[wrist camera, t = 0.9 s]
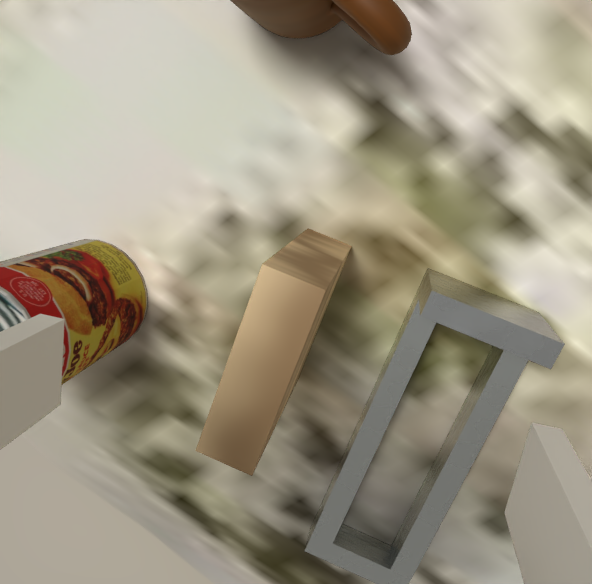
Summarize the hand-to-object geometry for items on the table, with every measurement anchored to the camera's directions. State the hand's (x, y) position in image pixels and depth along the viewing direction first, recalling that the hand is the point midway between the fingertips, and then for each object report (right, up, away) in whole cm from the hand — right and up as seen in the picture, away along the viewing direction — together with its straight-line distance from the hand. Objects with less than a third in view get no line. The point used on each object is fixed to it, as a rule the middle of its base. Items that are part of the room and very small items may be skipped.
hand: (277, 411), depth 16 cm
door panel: (+1, +2, +22) cm, 22 cm away
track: (+8, -6, +22) cm, 25 cm away
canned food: (-14, +3, +25) cm, 28 cm away
